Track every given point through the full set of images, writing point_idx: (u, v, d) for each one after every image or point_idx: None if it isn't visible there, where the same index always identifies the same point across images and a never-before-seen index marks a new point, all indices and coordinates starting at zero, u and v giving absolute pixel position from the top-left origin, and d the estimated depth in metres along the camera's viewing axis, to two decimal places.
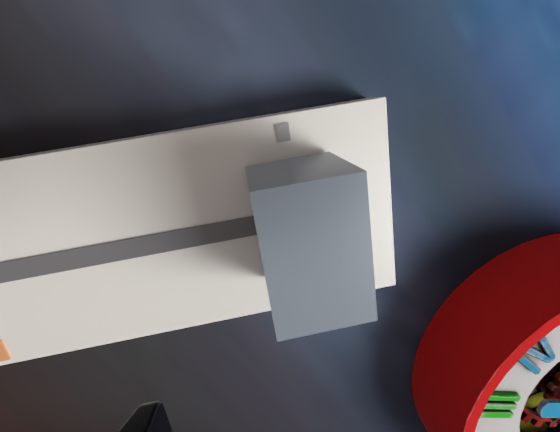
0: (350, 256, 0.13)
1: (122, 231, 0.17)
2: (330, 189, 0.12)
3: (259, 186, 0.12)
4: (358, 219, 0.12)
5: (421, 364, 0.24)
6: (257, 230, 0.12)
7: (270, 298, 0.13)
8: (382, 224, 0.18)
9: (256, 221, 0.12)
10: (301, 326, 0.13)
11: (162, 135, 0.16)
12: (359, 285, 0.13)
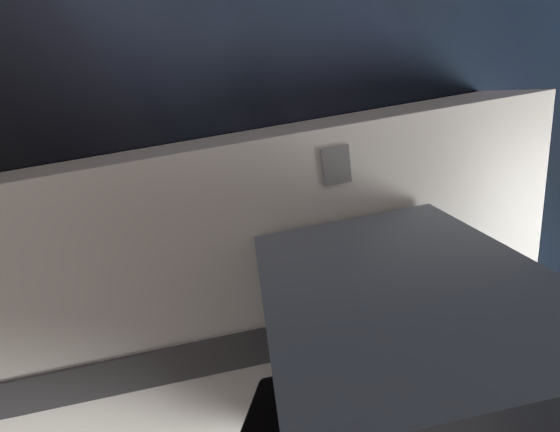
0: None
1: (1, 366, 0.08)
2: None
3: (314, 395, 0.03)
4: None
5: None
6: None
7: None
8: None
9: None
10: None
11: (69, 174, 0.07)
12: None
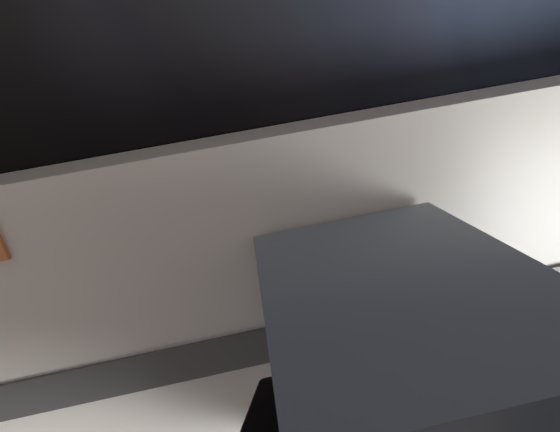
0: None
1: None
2: None
3: (313, 396, 0.03)
4: None
5: None
6: None
7: None
8: None
9: None
10: None
11: (477, 102, 0.07)
12: None
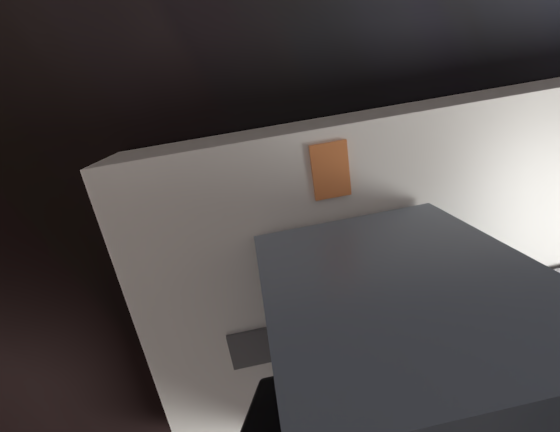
0: None
1: None
2: None
3: (315, 395, 0.03)
4: None
5: None
6: None
7: None
8: None
9: None
10: None
11: None
12: None
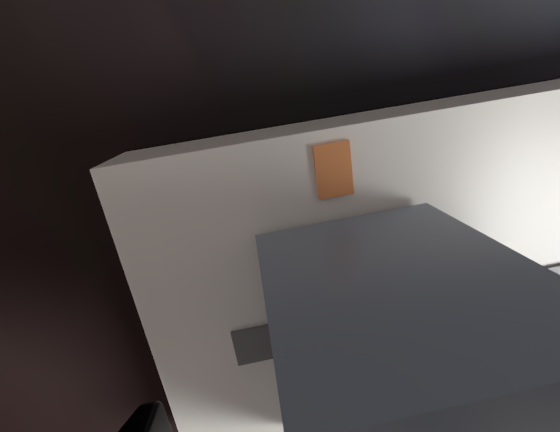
0: None
1: None
2: None
3: (314, 385, 0.04)
4: None
5: None
6: None
7: None
8: None
9: None
10: None
11: None
12: None
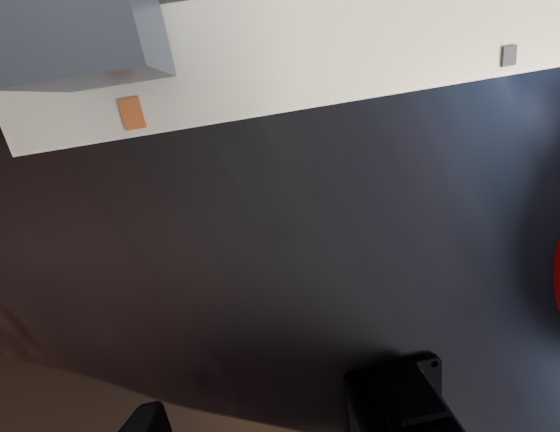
0: None
1: None
2: None
3: None
4: None
5: None
6: None
7: None
8: None
9: None
10: (17, 63, 0.08)
11: None
12: None
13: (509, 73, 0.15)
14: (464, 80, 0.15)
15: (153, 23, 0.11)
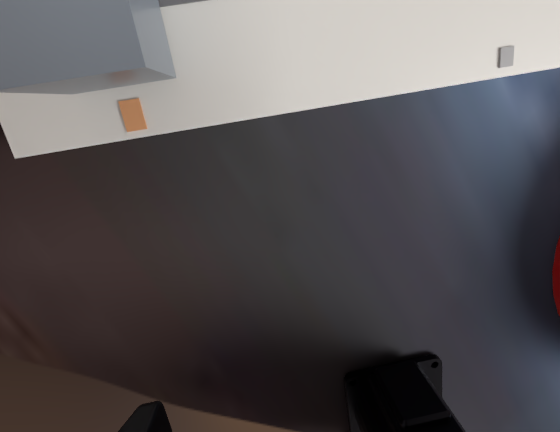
0: None
1: None
2: None
3: None
4: None
5: None
6: None
7: None
8: None
9: None
10: (19, 66, 0.09)
11: None
12: None
13: (506, 74, 0.15)
14: (462, 81, 0.15)
15: (153, 26, 0.11)
